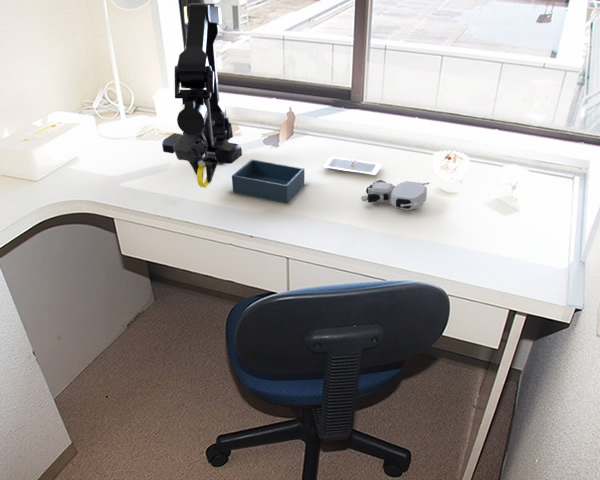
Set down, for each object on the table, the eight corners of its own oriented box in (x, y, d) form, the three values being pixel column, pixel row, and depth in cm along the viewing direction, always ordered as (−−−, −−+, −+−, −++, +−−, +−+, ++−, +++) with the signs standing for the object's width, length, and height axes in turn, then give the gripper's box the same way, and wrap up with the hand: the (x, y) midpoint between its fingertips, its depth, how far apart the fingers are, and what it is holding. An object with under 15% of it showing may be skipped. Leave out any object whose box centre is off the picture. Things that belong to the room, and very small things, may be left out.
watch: (205, 191, 134) (203, 168, 131) (195, 189, 135) (192, 166, 131) (215, 180, 139) (213, 158, 135) (205, 179, 139) (203, 157, 136)
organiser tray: (232, 192, 142) (231, 175, 139) (252, 175, 150) (251, 159, 147) (287, 203, 137) (287, 186, 134) (304, 184, 145) (304, 168, 143)
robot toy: (358, 210, 136) (419, 218, 130) (358, 193, 133) (420, 201, 128) (373, 190, 145) (430, 197, 139) (373, 173, 142) (432, 180, 137)
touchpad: (375, 178, 148) (376, 171, 147) (322, 170, 152) (322, 163, 151) (381, 167, 154) (382, 160, 153) (330, 159, 158) (330, 152, 157)
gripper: (143, 124, 124) (154, 188, 133) (216, 136, 118) (222, 202, 128) (171, 108, 132) (179, 170, 141) (240, 119, 126) (244, 182, 136)
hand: (205, 181), depth 136 cm, fingers closed on watch, 2 cm apart
